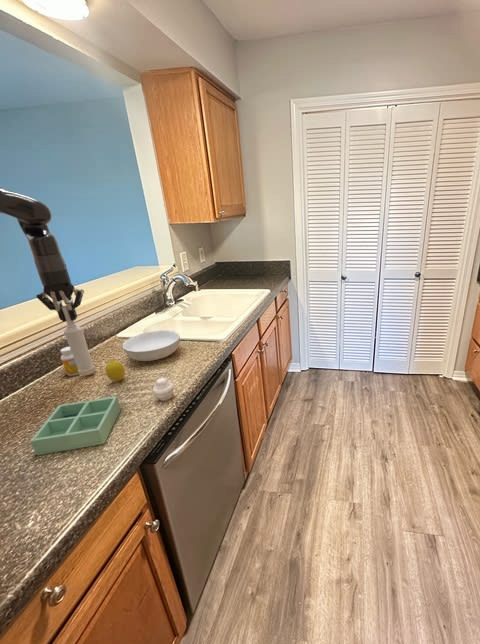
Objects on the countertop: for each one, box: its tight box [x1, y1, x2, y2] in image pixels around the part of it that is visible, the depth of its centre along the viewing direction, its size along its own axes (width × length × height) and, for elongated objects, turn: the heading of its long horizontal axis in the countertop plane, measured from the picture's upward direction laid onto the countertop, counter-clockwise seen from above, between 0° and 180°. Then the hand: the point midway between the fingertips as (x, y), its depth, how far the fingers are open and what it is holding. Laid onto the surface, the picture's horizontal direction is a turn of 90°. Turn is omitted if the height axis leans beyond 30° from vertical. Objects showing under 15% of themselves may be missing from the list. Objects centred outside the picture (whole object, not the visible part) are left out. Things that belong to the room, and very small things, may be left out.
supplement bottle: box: [60, 346, 80, 377], centre depth 117 cm, size 5×5×10 cm
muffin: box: [152, 377, 175, 402], centre depth 99 cm, size 6×6×7 cm
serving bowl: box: [122, 329, 181, 362], centre depth 128 cm, size 21×21×7 cm
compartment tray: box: [29, 396, 122, 456], centre depth 87 cm, size 15×15×4 cm
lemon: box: [105, 360, 126, 382], centre depth 110 cm, size 6×6×8 cm
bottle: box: [61, 304, 96, 377], centre depth 111 cm, size 5×5×25 cm
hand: (69, 320), depth 108 cm, fingers closed on bottle, 2 cm apart
